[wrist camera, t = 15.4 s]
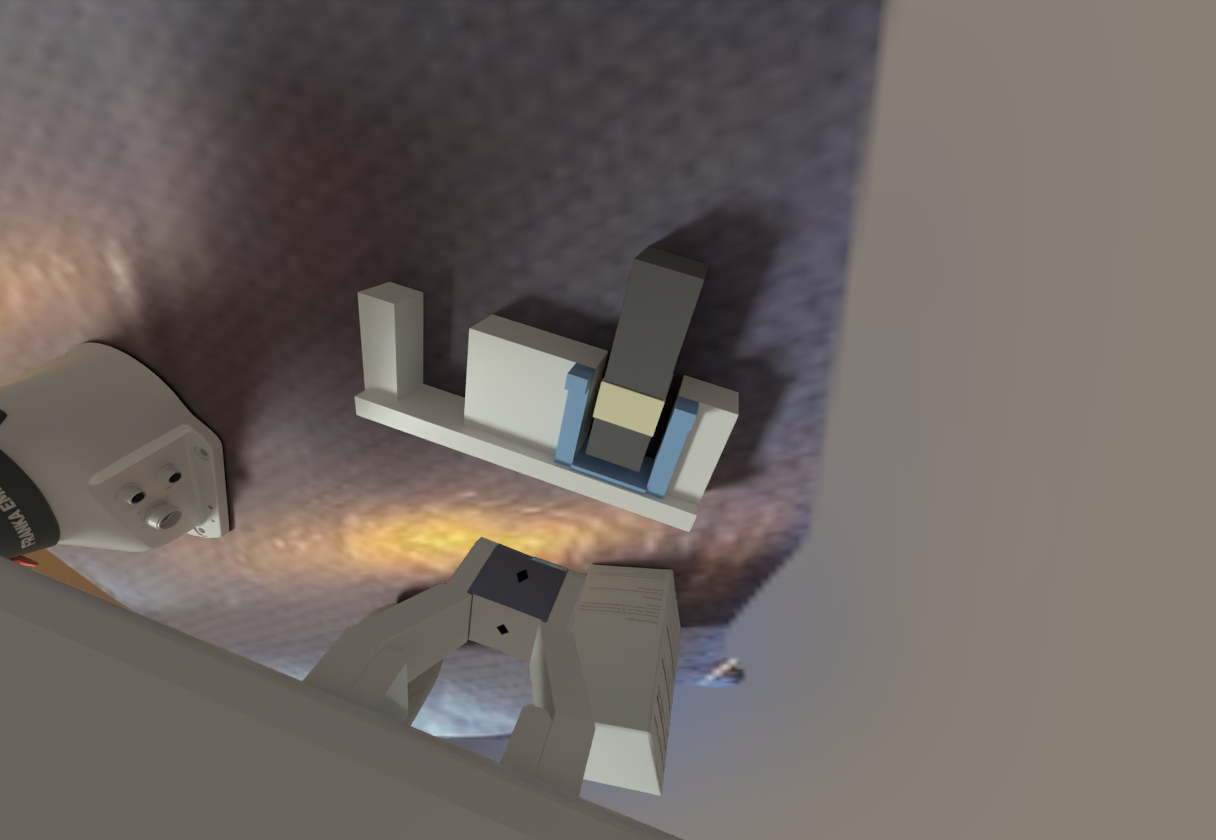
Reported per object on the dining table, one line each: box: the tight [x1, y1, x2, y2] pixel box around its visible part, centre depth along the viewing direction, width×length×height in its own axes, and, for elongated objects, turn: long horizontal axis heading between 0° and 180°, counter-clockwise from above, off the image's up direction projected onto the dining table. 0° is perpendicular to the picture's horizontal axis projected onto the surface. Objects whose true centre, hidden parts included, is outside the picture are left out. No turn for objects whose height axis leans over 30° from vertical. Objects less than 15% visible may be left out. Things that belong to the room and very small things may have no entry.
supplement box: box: [570, 565, 681, 796], centre depth 34 cm, size 7×7×13 cm
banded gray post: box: [585, 246, 709, 472], centre depth 26 cm, size 12×4×4 cm, turn 167°
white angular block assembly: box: [355, 282, 739, 532], centre depth 29 cm, size 8×24×5 cm, turn 77°
